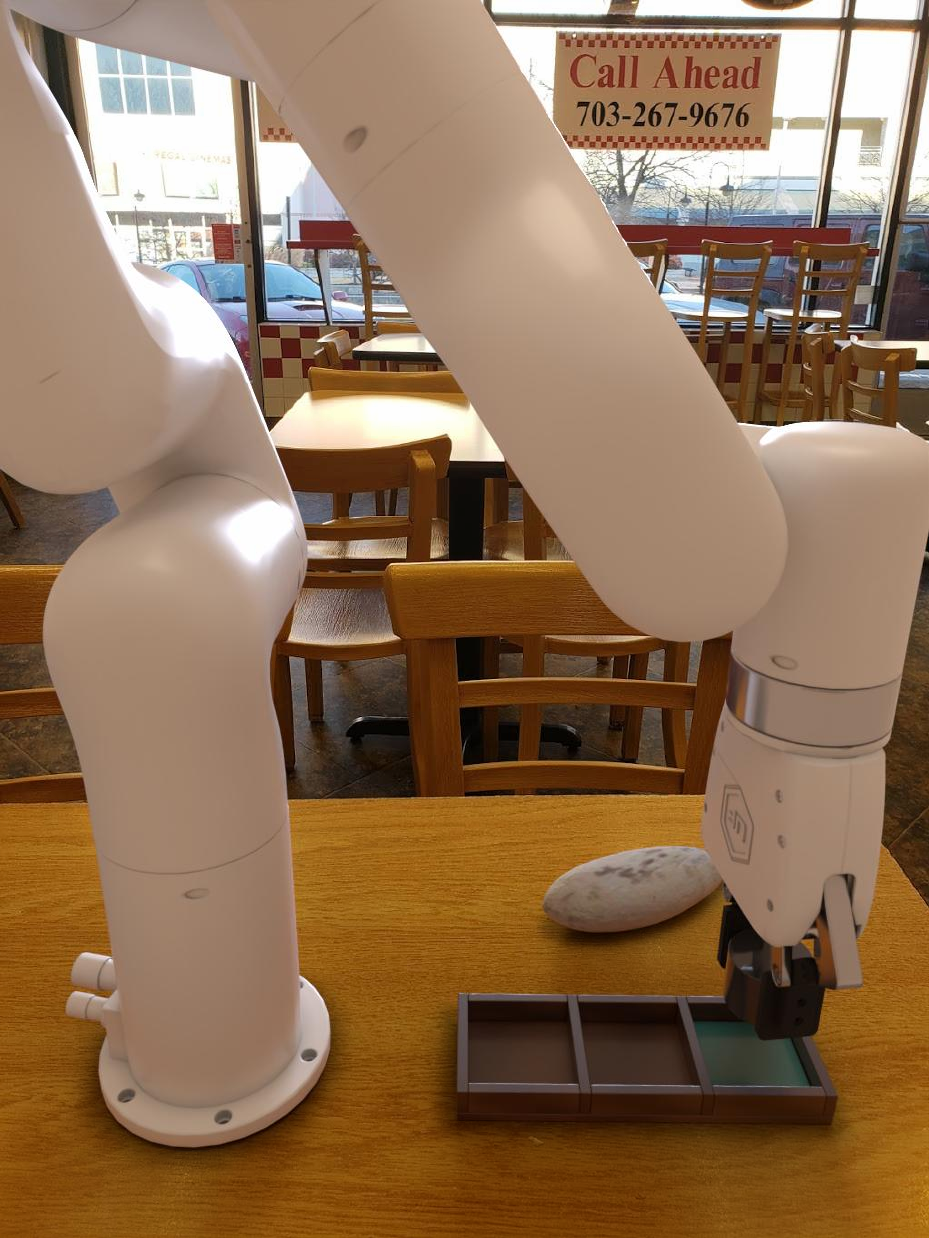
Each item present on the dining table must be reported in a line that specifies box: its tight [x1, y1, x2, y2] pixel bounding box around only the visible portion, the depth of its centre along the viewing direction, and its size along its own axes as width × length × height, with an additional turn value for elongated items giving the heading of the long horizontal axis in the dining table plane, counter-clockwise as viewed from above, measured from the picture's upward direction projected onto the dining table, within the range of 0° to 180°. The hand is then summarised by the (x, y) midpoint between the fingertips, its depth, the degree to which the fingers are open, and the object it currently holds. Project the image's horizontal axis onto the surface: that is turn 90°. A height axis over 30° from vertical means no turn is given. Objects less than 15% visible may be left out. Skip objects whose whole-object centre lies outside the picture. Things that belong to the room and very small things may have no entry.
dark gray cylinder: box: [722, 928, 814, 1026], centre depth 50 cm, size 4×4×3 cm
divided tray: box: [455, 992, 839, 1125], centre depth 52 cm, size 20×7×2 cm, turn 90°
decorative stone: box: [541, 845, 723, 933], centre depth 65 cm, size 6×16×3 cm, turn 117°
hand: (764, 994), depth 51 cm, fingers closed on dark gray cylinder, 4 cm apart
